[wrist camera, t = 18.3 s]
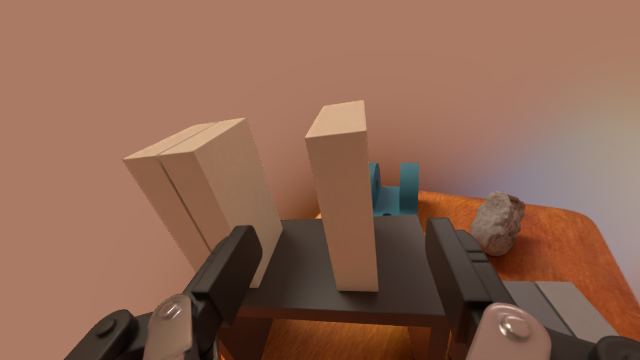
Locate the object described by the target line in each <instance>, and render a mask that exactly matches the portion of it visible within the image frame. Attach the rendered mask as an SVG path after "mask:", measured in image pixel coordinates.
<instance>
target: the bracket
mask: <svg viewBox="0 0 640 360" xmlns="http://www.w3.org/2000/svg"><path fill="white" fill-rule="evenodd" d="M369 169H370V182H371V196H372V209H373V216H396V215H417V212H418V186H419V183H418V182H419V163H401V170H400V187H384V186H381V184H380V169H379V164H378V163H369Z"/></svg>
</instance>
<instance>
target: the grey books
mask: <svg viewBox="0 0 640 360" xmlns="http://www.w3.org/2000/svg"><path fill="white" fill-rule="evenodd" d="M502 282H503V283H504V285H505V287H506V288H507V290H508V292H509V293H510V295H511V296H512V298H513V300H514V301H515V303H516V304H517V305H518V307H519V308H521V309H523V310H525V311H527V312H528V313H530V314H531V315H532V316H534V317H535V318H536V319H537V320H538V321H539V322H540V323H541V324H542V325H543V326H545V327H547V328H549V329H552V330H554V331H557V332H560V333H563V334H567V335H570V336H573V337H577V338H580V339H583V340H586V341H590V342H593V343H597V342H598V341H599V340H600V339H601V338H602V337H605V336H610V335H613V336H620V335H619V334H618V333H617V332H616V331H615V330H614V329H613V327H612V326H611V325H610V324H609V323H608V322H607V321H606V320H605V319H604V318H603V316H602V315H601V314H600V313H599V312H598V311H597V310H596V309H595V308H594V306H593V305H592V304H591V303H590V302H589V301H588V300H587V299H586V298H585V297H584V295H583V294H582V293H581V292H580V291H579V290H578V289H577V288H576V287H575V286H574V284H573V283H572V282H540V281H536V282H535V283H534V284H533V282H532V281H502ZM448 352H449V356H450V359H451V360H466V357H467V354H468V349H467V346H466V344H461V343H455V342H454V339H453V336H452V335H451V340H450V345H449V350H448Z"/></svg>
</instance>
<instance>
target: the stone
mask: <svg viewBox="0 0 640 360" xmlns="http://www.w3.org/2000/svg"><path fill="white" fill-rule="evenodd" d="M524 210H525V204H524V202H523V201H520V200H519V199H518V198H517V197H515V196H512V195H510V194H505V193H503V192H495V191H494V192H492V193H491V194H490V195H488V196H487V198H486V200H485V202H484V204H481V205H480V206H479V208H478V209H477V216H476V218H475V220H474V221H473V222H472V224H471V227H470V232H471V236H473V237H474V238H475V239H476V240H477V242H478V243H479V245H480V247H481V248H482V250H483V251H484V252H485V253H486V254H488V255H491V256H500V255H503V254H506V253H507V252H508V251H509V250H510V249H511V247H512V245H513V243H514V241H515V239H516V236H517V233H519V232H520V230H521V227H520V223H521V221H522V218H523V217H524Z"/></svg>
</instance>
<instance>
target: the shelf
mask: <svg viewBox="0 0 640 360" xmlns="http://www.w3.org/2000/svg"><path fill="white" fill-rule="evenodd" d="M280 221H281V224H282V227H283V230H282V232H281V235H280V237H279V239H278V242H277V244H276V247H275V249H274V251H273V254H272V256H271V259H270V261H269V263H268V266H267V268H266V271H265V273H264V275H263V278H262V280H261V283H260V285H259V287H258V288H249V289H248V291H247V293H246V295H245V297H244V300H243V302H242V304H241V306H240V309H239V311H238V313H237V315H236V317H235V320H234V322H233V324H232V326H231V328H228V327H220V328H219V330H218V333H217V335H218V338H219V345H220V353H221V355H222V356H223V357H224V358H225V360H260V359H261V356H262V353H263V350H264V346H265V343H266V340H267V337H268V334H269V330H270V327H271V324H272V321H273V318H275V319H292V320H309V321H326V322H344V323H361V324H378V325H395V326H408V330H409V336H410V341H411V347H412V353H413V358H414V360H445V355H446V350H447V344H448V339H449V334H450V327H449V324H448V321H447V318H446V315H445V312H444V309H443V306H442V303H441V300H440V297H439V294H438V291H437V288H436V285H435V282H434V279H433V276H432V273H431V270H430V267H429V264H428V261H427V257H426V252H425V235H424V232H423V229H422V226H421V224H420V221H419V218H418V215H396V216H373V223H374V236H375V250H376V263H377V276H378V290H379V291H378V292H371V291H338V290H337V287H336V282H335V277H334V273H333V268H332V263H331V259H330V254H329V249H328V244H327V240H326V235H325V230H324V226H323V221H322V219H299V220H280Z"/></svg>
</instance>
